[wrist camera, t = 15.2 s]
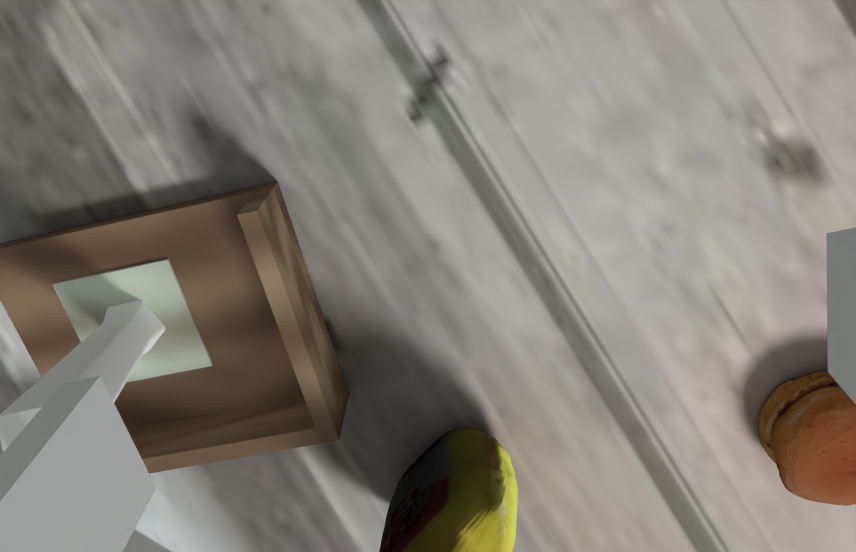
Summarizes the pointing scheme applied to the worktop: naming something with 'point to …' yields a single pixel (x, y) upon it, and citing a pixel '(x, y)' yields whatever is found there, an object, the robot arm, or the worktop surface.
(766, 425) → the burger
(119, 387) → the white faceted vase
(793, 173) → the worktop surface
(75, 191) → the worktop surface
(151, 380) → the brown wooden flat tray
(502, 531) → the bottle
